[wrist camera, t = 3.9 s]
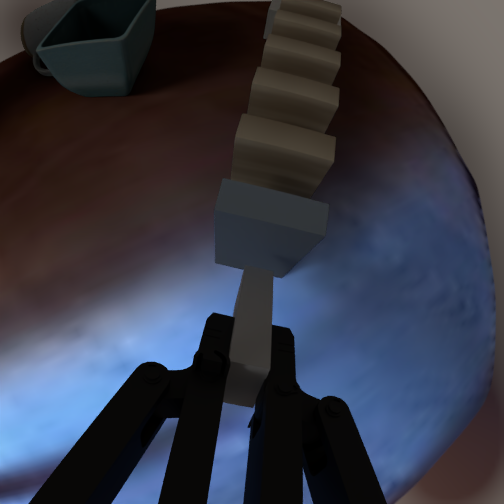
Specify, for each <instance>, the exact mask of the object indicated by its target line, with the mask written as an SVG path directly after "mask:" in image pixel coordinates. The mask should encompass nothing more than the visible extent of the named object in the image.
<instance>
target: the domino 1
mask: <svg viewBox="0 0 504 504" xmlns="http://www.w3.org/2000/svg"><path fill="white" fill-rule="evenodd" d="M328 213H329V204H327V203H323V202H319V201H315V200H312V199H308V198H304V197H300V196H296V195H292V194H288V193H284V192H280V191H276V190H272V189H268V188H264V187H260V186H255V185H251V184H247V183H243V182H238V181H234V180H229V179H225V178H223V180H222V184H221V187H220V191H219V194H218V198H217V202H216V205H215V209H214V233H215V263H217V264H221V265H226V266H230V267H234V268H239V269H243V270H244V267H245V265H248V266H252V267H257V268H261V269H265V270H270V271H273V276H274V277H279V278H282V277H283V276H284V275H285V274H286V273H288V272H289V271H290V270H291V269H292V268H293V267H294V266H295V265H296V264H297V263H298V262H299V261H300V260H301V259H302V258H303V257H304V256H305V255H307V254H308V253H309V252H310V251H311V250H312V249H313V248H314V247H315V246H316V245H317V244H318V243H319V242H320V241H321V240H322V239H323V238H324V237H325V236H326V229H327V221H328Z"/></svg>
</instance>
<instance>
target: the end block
mask: <svg viewBox="0 0 504 504" xmlns="http://www.w3.org/2000/svg"><path fill="white" fill-rule="evenodd" d="M280 5H281V0H272V2H271V5H270V7H269V10H268V15H267V20H266V26H265V31H264V37H263V39H267V38H268V35H269V34H271V32H272V28H273V23H274V18H275V15H276V12H277V10H278V9H280ZM337 25H339V26H341V16H340V18H339V21H338V24H337Z"/></svg>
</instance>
